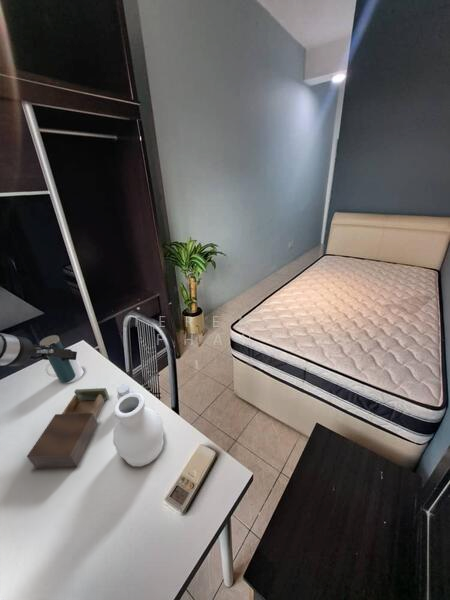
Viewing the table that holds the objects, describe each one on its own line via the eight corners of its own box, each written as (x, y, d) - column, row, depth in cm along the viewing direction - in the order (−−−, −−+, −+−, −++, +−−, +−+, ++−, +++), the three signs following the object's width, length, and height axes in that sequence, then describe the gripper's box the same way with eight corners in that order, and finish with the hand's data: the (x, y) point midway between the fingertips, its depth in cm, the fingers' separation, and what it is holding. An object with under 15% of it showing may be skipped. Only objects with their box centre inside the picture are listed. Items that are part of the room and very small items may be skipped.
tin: (58, 376, 84) (39, 339, 76) (75, 370, 86) (58, 333, 79) (59, 386, 80) (39, 347, 73) (76, 379, 83) (59, 341, 75)
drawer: (81, 395, 96) (77, 386, 93) (110, 394, 95) (107, 385, 93) (61, 428, 84) (55, 419, 81) (94, 427, 83) (89, 418, 81)
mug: (52, 390, 100) (40, 368, 94) (53, 376, 107) (42, 355, 101) (84, 378, 105) (74, 356, 99) (83, 366, 111) (74, 345, 106)
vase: (138, 482, 68) (120, 439, 59) (111, 452, 76) (90, 409, 67) (176, 441, 78) (165, 398, 69) (148, 418, 86) (135, 377, 77)
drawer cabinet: (62, 426, 85) (55, 414, 82) (98, 425, 85) (92, 412, 82) (36, 469, 73) (26, 456, 70) (77, 467, 73) (70, 454, 70)
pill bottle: (129, 397, 95) (124, 380, 91) (139, 402, 92) (133, 385, 88) (118, 407, 91) (111, 390, 87) (127, 413, 88) (121, 396, 84)
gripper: (-32, 367, 60) (39, 368, 83) (39, 364, 60) (92, 366, 82) (-25, 336, 62) (43, 346, 85) (44, 333, 62) (94, 343, 85)
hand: (67, 356), depth 84 cm, fingers closed on tin, 5 cm apart
